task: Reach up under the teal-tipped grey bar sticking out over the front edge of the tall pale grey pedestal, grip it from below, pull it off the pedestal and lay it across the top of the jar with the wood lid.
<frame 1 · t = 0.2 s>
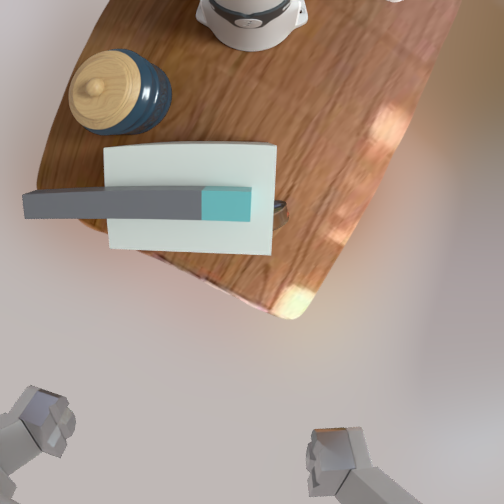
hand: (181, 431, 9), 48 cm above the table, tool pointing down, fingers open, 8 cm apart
canister: (138, 98, 49), on the table
teal-tipped grey bar: (128, 199, 28), point 26 cm above the table, touching pedestal
pedestal: (218, 170, 53), on the table
tin: (244, 217, 56), on the table
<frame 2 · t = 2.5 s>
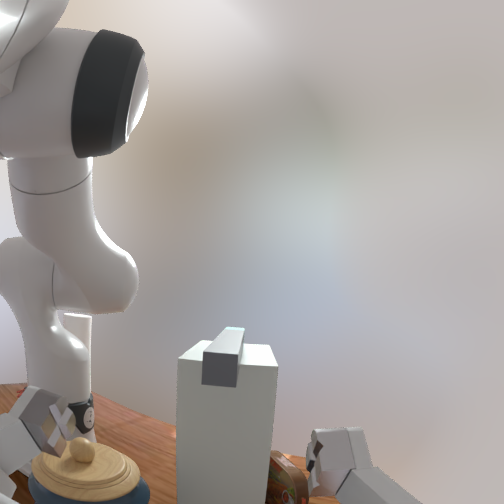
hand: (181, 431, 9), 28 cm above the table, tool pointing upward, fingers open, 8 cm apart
teal-tipped grey bar: (229, 358, 33), point 26 cm above the table, touching pedestal
cylindrical container: (78, 412, 64), on the table
tin: (276, 502, 39), on the table
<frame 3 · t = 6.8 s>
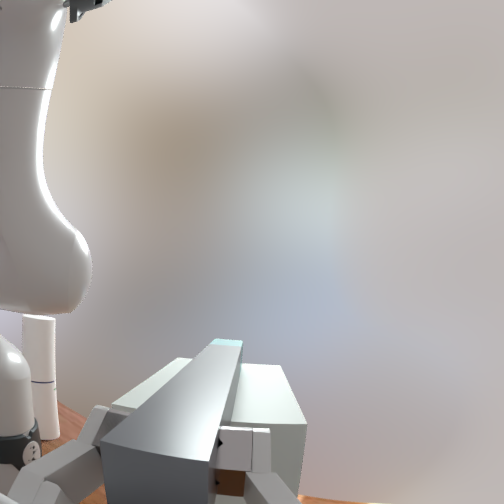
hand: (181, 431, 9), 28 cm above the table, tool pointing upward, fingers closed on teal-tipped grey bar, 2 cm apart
teal-tipped grey bar: (211, 404, 17), point 26 cm above the table, touching gripper, pedestal
cylindrical container: (44, 433, 47), on the table
when the fingers open (21 cm above the table, at t = 13.3 s): teal-tipped grey bar drops 2 cm, resting on canister.
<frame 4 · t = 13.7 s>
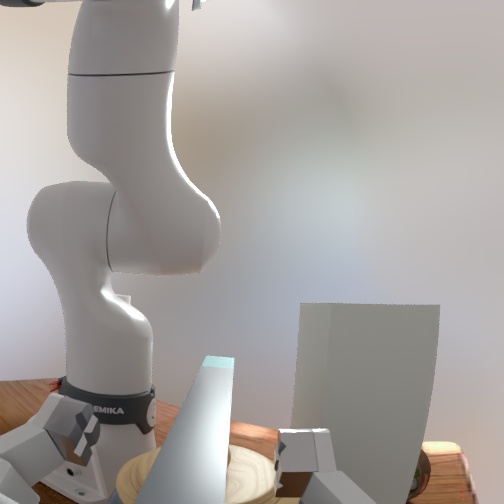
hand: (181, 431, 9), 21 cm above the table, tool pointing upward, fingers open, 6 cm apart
teal-tipped grey bar: (206, 436, 16), point 18 cm above the table, touching canister
tin: (379, 490, 32), on the table
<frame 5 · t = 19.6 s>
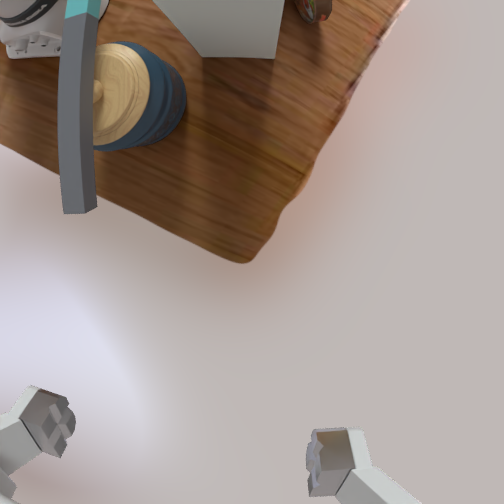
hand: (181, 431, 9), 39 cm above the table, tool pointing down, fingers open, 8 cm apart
canister: (145, 102, 41), on the table, touching teal-tipped grey bar
teal-tipped grey bar: (82, 91, 24), point 18 cm above the table, touching canister
pedestal: (241, 8, 35), on the table
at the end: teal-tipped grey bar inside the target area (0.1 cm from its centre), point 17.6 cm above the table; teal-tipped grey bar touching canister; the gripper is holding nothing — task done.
